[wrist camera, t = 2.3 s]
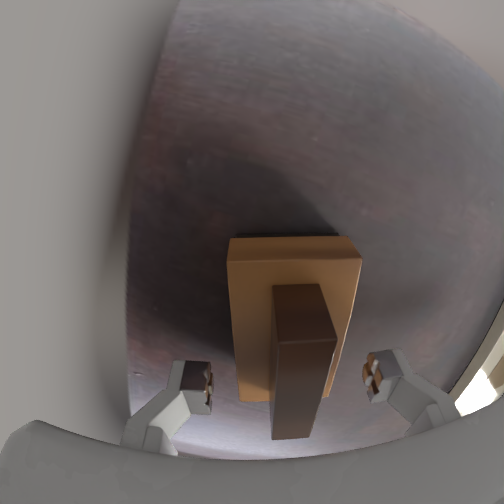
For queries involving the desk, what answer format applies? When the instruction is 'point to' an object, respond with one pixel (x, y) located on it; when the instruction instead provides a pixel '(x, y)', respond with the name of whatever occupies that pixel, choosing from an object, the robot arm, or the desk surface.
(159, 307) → the desk surface
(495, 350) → the tile
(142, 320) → the desk surface
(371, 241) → the desk surface
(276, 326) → the brush
